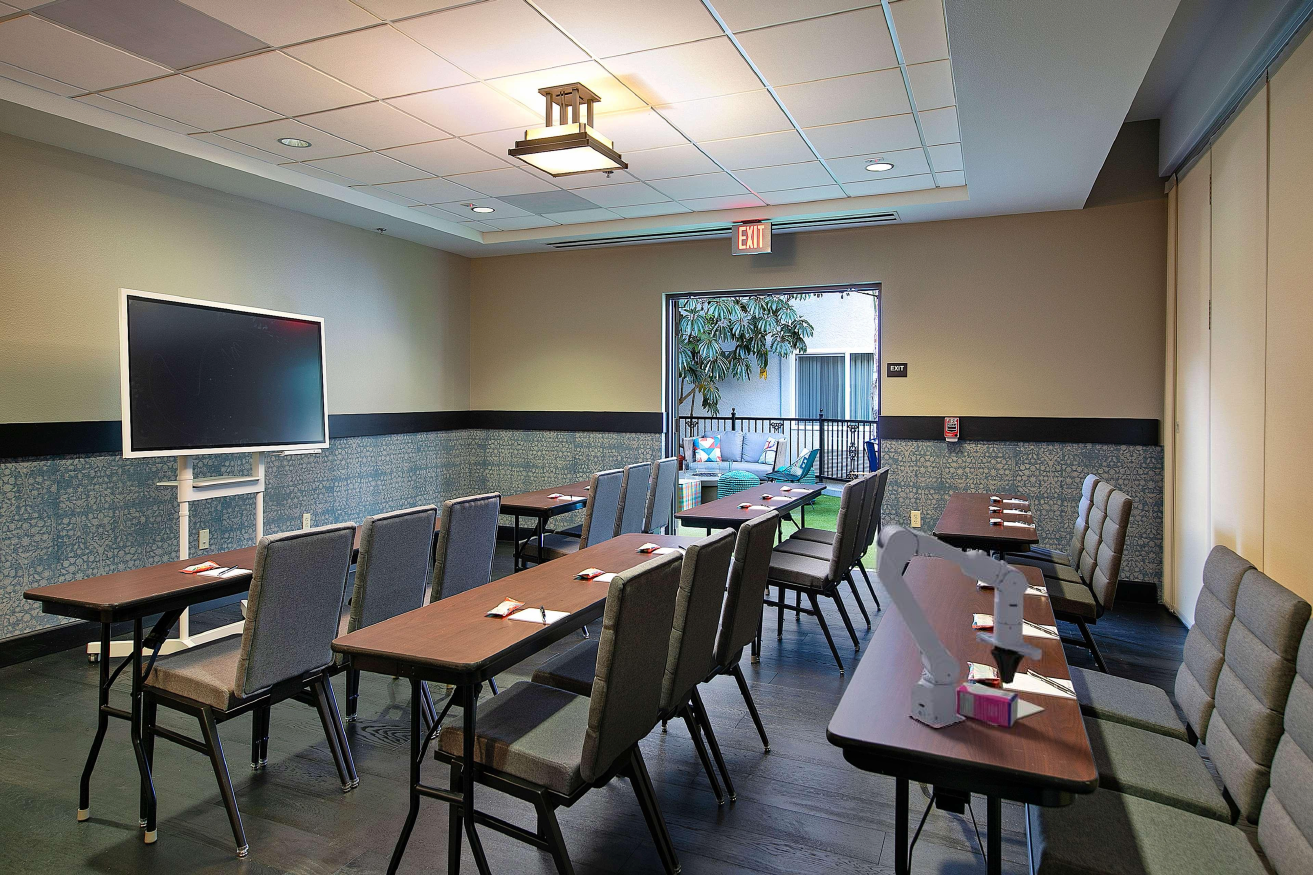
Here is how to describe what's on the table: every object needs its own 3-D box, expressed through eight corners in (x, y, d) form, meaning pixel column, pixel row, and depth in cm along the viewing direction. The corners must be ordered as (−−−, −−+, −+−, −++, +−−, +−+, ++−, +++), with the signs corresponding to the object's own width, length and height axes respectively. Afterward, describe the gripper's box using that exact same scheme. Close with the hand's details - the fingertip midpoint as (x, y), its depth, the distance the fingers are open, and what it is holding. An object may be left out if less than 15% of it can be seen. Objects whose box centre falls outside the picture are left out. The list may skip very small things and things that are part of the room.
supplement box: (1017, 719, 164) (963, 705, 171) (1018, 693, 164) (964, 680, 171) (1010, 728, 159) (955, 713, 167) (1011, 702, 159) (956, 688, 166)
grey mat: (995, 726, 161) (995, 724, 161) (928, 697, 177) (928, 696, 177) (1044, 709, 169) (1044, 708, 169) (976, 683, 185) (976, 682, 185)
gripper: (1051, 626, 159) (1049, 689, 159) (991, 610, 171) (990, 668, 172) (1030, 632, 155) (1028, 696, 156) (970, 614, 168) (969, 674, 169)
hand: (1007, 682), depth 164 cm, fingers closed
